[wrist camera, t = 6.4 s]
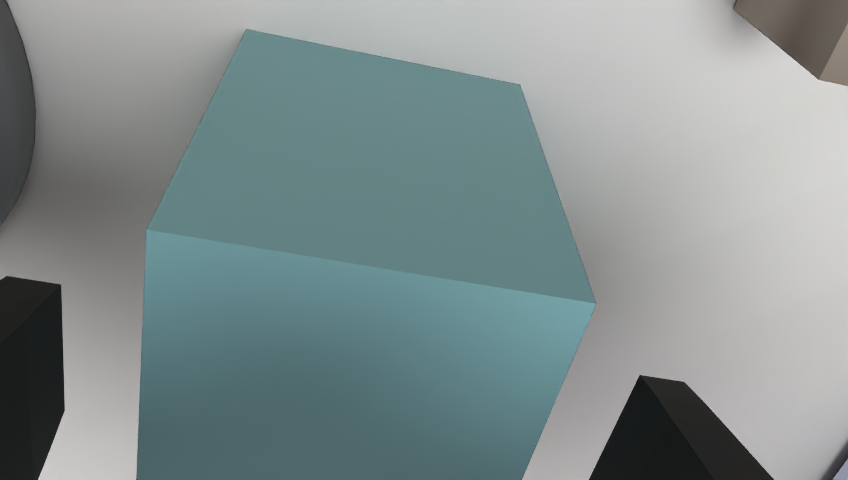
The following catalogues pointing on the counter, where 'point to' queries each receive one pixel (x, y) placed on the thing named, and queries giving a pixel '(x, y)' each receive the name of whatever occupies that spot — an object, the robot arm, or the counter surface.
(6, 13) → the coaster
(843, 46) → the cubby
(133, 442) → the counter surface
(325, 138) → the block
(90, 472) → the counter surface
